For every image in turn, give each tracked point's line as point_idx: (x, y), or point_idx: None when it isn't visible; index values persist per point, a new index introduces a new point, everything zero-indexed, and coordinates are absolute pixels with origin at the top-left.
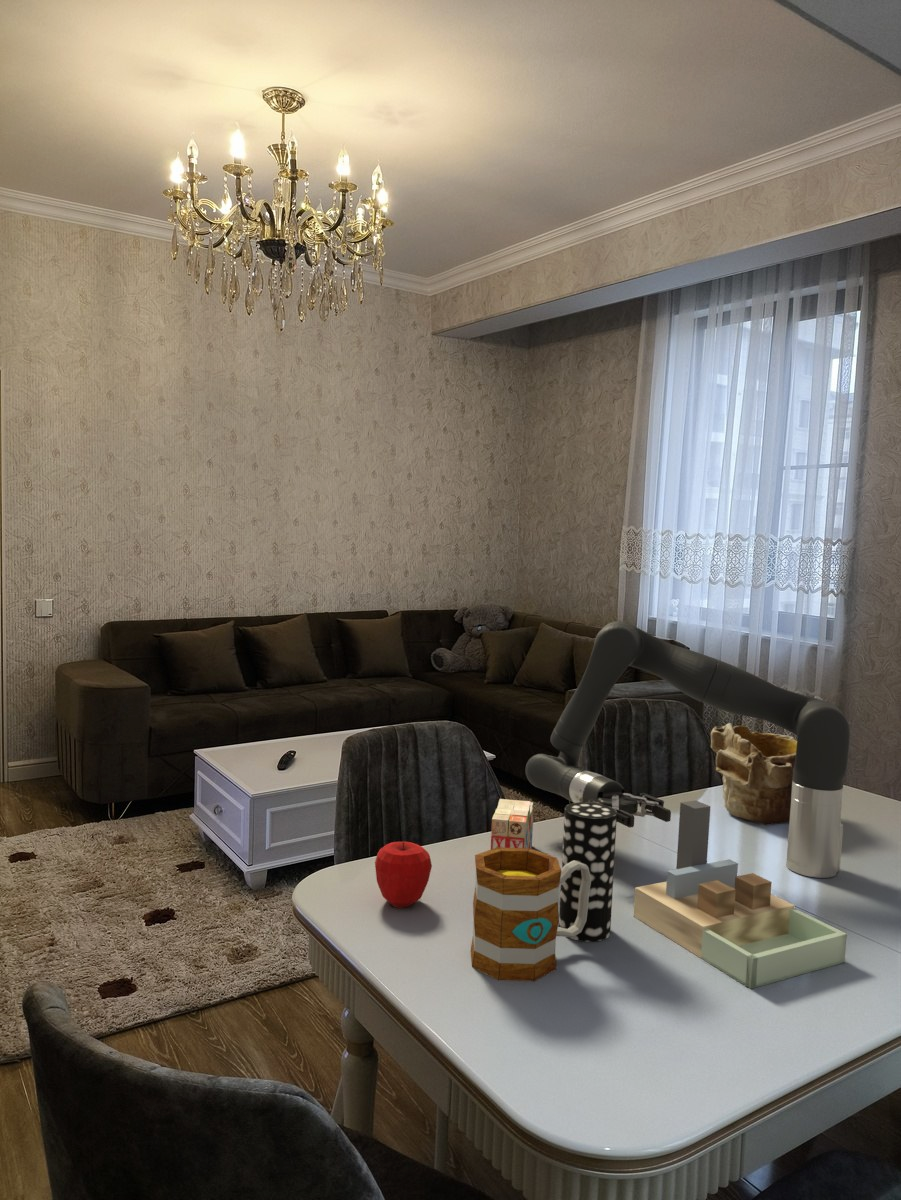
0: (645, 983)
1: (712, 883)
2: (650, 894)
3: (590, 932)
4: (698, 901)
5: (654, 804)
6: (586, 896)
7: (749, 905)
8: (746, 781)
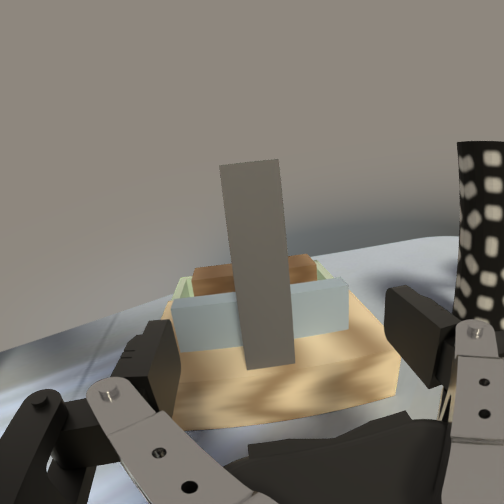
0: (417, 292)
1: (291, 265)
2: (379, 328)
3: None
4: None
5: (133, 388)
6: None
7: None
8: None
